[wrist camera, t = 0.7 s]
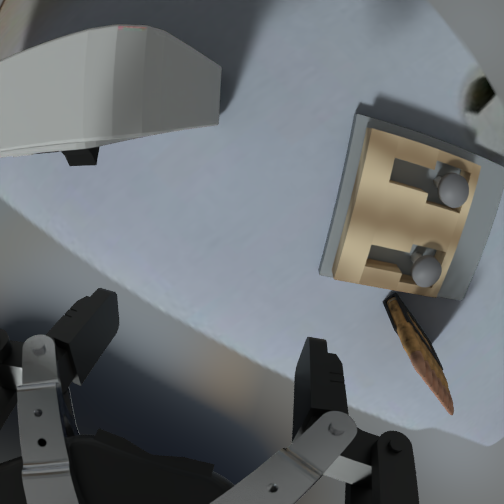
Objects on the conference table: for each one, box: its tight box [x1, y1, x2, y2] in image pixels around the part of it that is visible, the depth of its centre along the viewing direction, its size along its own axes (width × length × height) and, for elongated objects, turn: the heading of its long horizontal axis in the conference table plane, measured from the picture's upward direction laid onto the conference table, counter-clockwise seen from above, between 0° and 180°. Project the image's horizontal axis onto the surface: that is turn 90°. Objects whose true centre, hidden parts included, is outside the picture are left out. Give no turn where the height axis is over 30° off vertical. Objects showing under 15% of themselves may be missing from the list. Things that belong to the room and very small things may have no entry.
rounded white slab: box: [0, 24, 222, 166], centre depth 20 cm, size 29×8×18 cm, turn 87°
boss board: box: [318, 114, 504, 301], centre depth 27 cm, size 16×18×5 cm
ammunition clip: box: [383, 293, 454, 415], centre depth 29 cm, size 11×2×12 cm, turn 43°
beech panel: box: [332, 128, 481, 298], centre depth 27 cm, size 14×12×2 cm
